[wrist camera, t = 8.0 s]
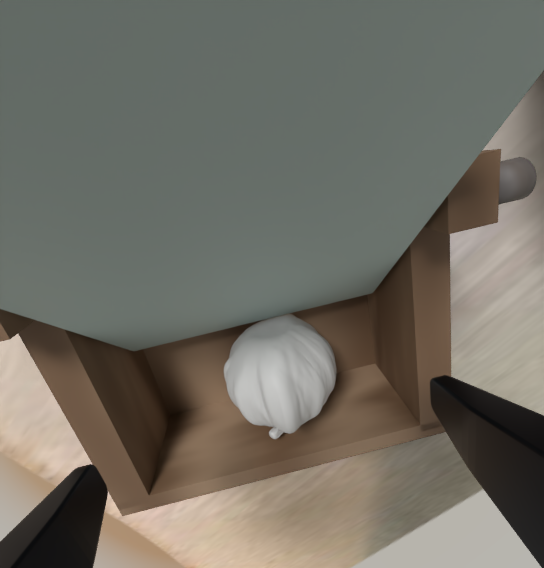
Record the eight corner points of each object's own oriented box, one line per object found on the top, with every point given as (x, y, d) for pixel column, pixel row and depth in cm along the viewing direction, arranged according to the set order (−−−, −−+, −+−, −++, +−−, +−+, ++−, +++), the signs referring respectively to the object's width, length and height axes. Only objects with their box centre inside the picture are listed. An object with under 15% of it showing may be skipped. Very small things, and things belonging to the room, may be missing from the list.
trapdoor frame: (381, -37, 13) (577, -316, 6) (408, 357, 20) (512, 468, 13) (-40, 51, 13) (-445, -129, 5) (137, 425, 20) (76, 583, 12)
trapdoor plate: (718, -312, 3) (813, -282, 2) (365, 275, 16) (372, 293, 16) (-713, -42, 2) (-850, 39, 2) (132, 331, 16) (133, 351, 15)
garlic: (188, 378, 12) (226, 470, 14) (325, 365, 11) (348, 469, 13) (232, 307, 18) (255, 381, 20) (327, 293, 16) (343, 373, 18)
